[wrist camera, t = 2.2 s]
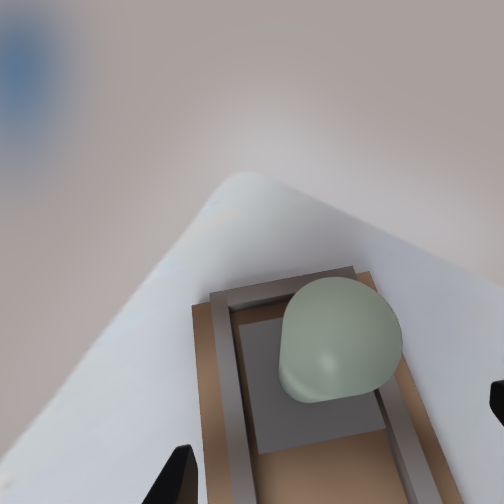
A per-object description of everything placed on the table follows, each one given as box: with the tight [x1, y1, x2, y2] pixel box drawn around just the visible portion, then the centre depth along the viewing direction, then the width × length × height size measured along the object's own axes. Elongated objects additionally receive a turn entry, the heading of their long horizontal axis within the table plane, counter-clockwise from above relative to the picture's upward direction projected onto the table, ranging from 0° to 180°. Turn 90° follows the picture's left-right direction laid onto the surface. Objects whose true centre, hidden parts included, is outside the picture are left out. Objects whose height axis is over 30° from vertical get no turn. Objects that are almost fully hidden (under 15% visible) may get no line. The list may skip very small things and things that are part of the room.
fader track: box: [192, 266, 463, 504], centre depth 15 cm, size 18×12×3 cm, turn 10°
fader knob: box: [239, 277, 402, 454], centre depth 12 cm, size 6×6×11 cm
